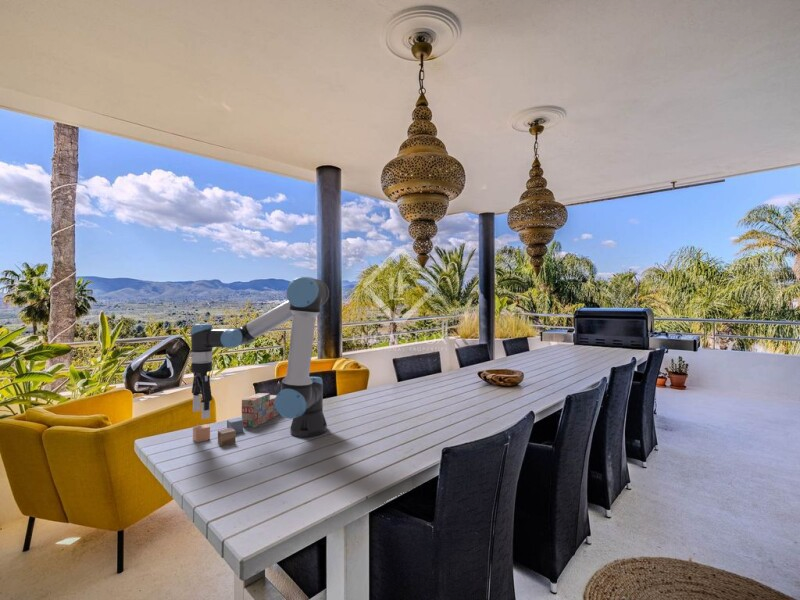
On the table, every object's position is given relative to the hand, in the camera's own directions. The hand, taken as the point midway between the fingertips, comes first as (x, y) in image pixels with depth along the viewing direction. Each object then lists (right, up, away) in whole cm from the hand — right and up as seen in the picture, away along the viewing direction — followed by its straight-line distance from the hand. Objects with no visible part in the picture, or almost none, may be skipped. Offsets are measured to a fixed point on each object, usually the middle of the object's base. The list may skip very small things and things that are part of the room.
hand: (201, 414), depth 145 cm
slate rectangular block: (+10, -10, +8) cm, 16 cm away
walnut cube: (+13, -10, -5) cm, 17 cm away
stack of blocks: (+15, -11, +25) cm, 31 cm away
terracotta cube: (0, -10, 0) cm, 10 cm away
